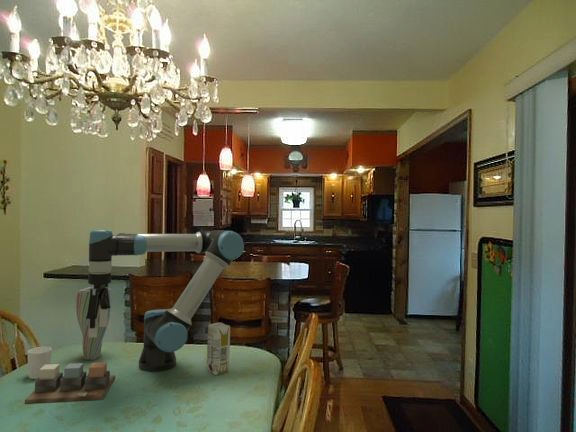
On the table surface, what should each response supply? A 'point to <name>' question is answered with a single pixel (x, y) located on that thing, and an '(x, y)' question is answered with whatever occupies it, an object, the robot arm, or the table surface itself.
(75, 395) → the board
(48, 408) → the table surface
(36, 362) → the white cup
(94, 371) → the terracotta key
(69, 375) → the slate key
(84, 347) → the vase
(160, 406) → the table surface
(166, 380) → the table surface
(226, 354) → the juice carton
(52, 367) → the cream key
